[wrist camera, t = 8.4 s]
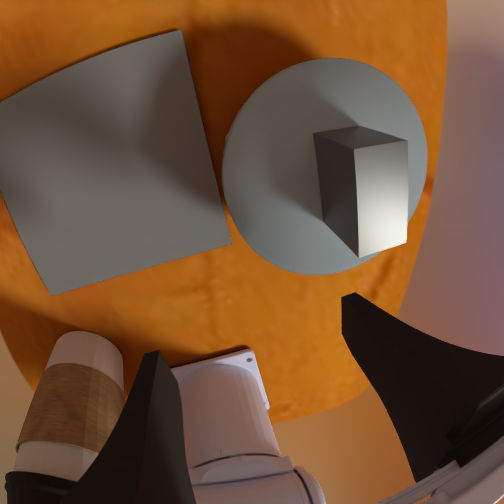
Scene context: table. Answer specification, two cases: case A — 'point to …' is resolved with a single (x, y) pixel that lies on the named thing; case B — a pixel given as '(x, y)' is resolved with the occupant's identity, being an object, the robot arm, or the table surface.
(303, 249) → the lid
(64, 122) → the mat
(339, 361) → the table surface
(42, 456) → the coffee cup
